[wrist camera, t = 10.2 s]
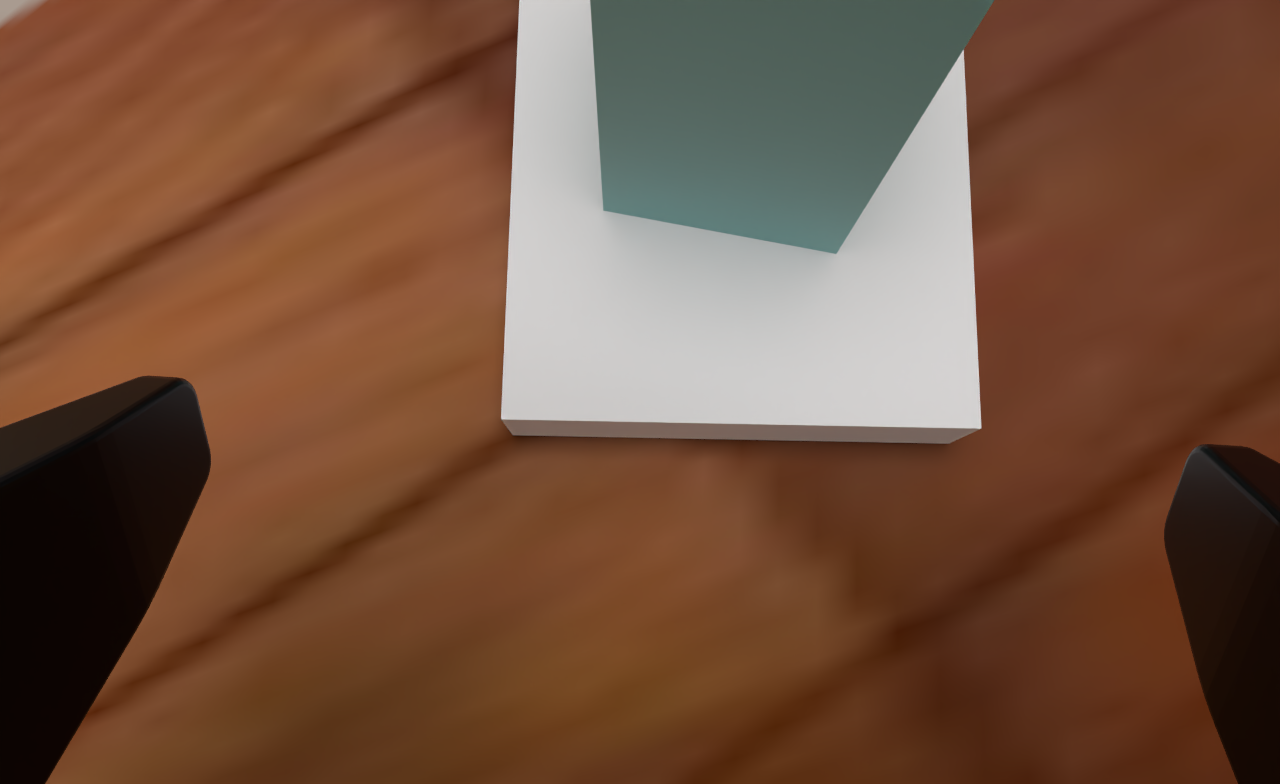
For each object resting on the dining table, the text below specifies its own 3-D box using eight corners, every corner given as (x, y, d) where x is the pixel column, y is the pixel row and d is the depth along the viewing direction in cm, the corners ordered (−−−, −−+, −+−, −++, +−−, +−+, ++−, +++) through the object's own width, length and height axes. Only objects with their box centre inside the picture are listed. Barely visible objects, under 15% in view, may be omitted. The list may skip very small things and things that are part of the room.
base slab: (948, 443, 21) (981, 428, 19) (512, 435, 21) (501, 419, 19) (927, -76, 23) (954, -137, 21) (534, -85, 23) (525, -147, 21)
